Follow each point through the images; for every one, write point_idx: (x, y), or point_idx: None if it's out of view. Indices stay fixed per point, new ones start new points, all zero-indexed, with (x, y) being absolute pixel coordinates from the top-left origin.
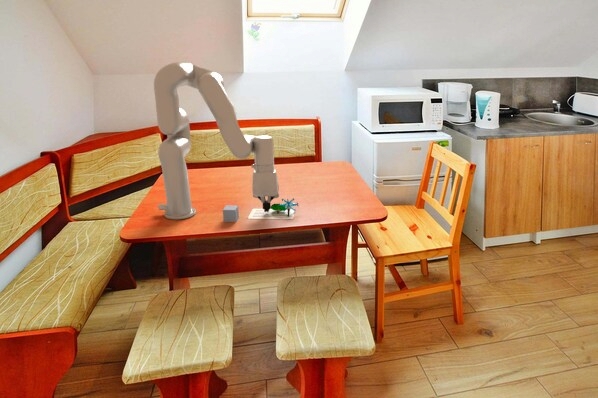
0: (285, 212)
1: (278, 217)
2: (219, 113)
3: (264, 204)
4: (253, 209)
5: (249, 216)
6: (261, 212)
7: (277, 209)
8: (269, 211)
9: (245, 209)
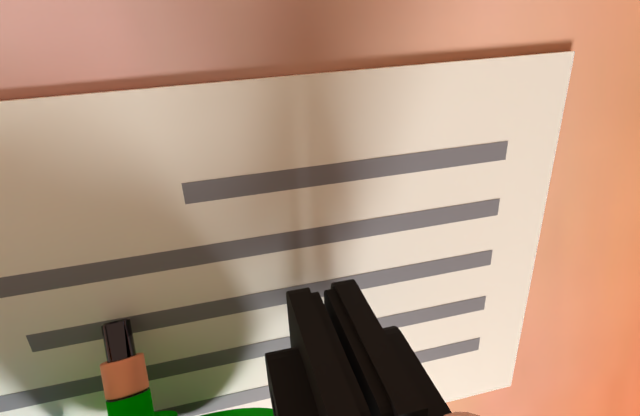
0: (12, 399)
1: (42, 179)
2: None
3: (400, 382)
4: (503, 368)
5: (549, 143)
6: (395, 311)
7: (135, 397)
8: None
9: (587, 349)
